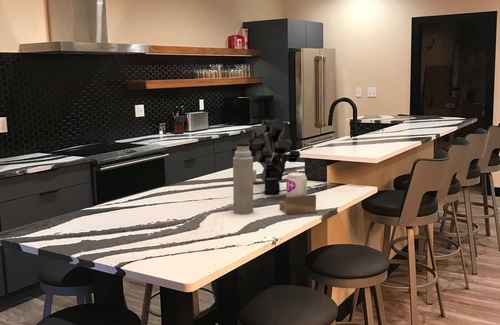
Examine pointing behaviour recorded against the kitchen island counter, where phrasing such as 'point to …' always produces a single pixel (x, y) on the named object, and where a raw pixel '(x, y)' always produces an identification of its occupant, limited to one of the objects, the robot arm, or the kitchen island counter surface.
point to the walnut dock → (299, 204)
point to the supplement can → (296, 184)
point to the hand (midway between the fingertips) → (283, 172)
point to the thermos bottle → (243, 180)
